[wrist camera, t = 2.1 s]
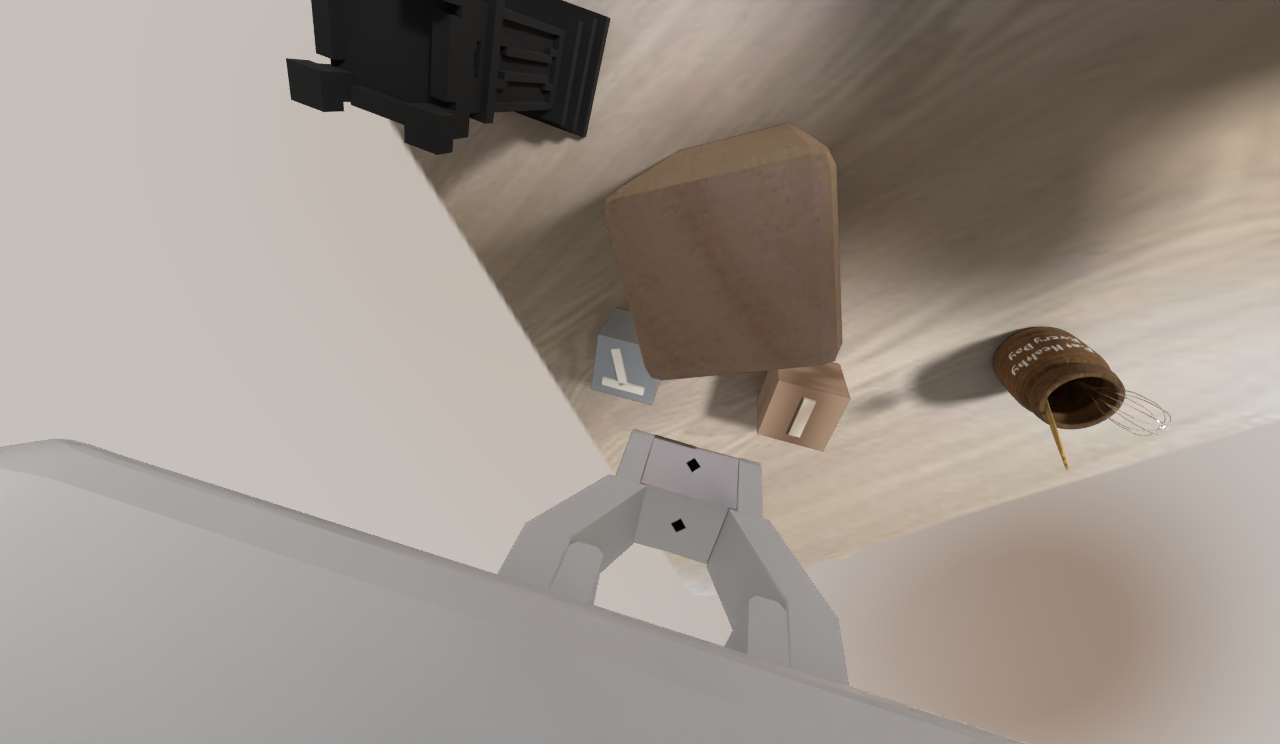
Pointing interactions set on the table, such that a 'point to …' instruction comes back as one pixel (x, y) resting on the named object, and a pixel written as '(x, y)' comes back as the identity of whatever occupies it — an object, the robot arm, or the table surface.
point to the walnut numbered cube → (802, 404)
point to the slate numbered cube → (622, 362)
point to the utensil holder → (1061, 381)
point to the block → (732, 256)
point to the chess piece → (454, 63)
